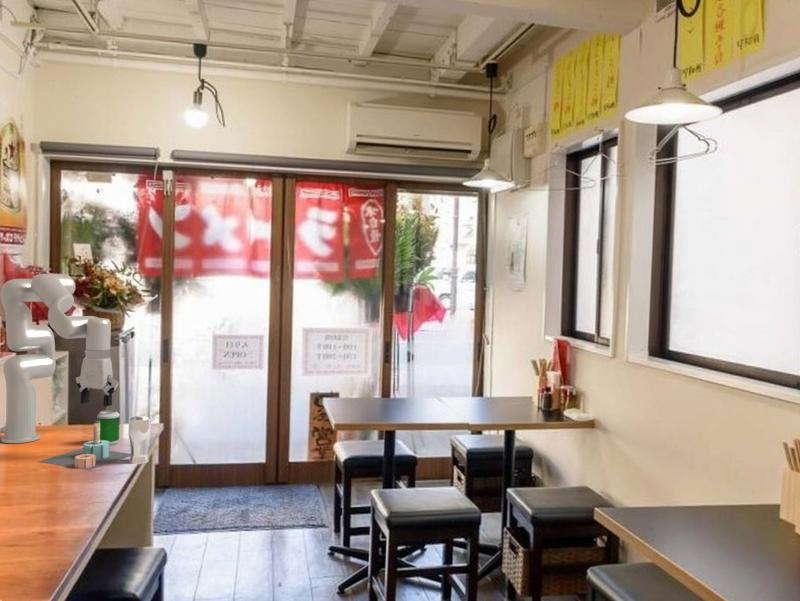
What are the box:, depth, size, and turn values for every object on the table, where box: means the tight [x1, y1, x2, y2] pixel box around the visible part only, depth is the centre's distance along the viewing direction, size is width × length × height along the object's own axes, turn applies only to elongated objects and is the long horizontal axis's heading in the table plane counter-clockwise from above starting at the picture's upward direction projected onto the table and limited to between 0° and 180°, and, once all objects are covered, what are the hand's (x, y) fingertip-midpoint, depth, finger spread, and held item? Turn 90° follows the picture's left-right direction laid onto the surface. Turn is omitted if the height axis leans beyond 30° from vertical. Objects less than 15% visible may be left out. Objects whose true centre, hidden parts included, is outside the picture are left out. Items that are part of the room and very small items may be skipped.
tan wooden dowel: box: [92, 420, 100, 444], centre depth 219 cm, size 2×2×12 cm
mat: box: [37, 447, 131, 471], centre depth 217 cm, size 22×20×1 cm
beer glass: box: [128, 415, 152, 465], centre depth 215 cm, size 7×7×15 cm
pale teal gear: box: [82, 440, 111, 459], centre depth 219 cm, size 8×8×4 cm
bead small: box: [75, 454, 96, 469], centre depth 208 cm, size 6×6×3 cm
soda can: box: [96, 409, 121, 446], centre depth 236 cm, size 8×8×12 cm
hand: (96, 404), depth 219 cm, fingers open, 9 cm apart
